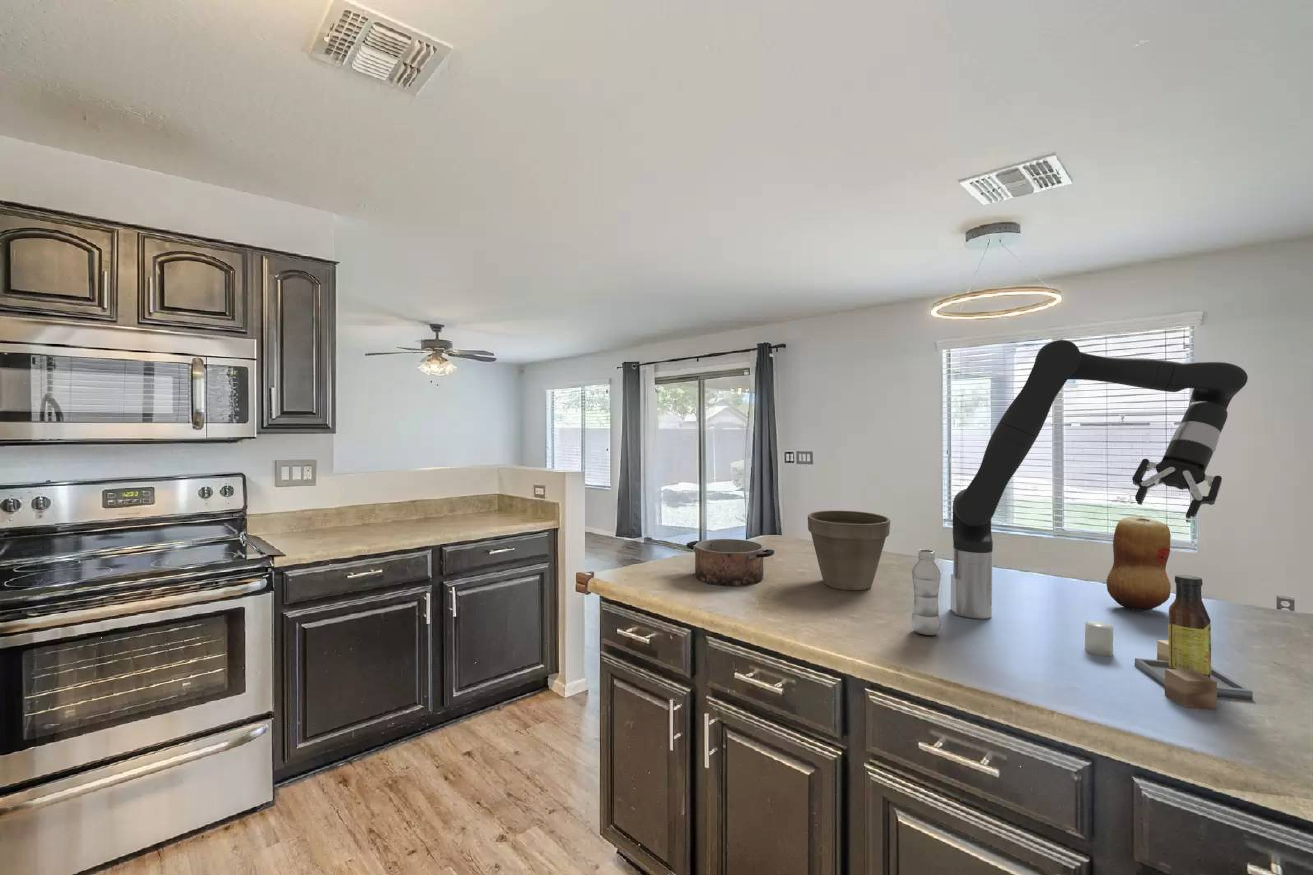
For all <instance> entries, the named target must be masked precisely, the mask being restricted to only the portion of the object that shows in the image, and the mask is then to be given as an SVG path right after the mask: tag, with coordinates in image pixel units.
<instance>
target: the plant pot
mask: <svg viewBox="0 0 1313 875" xmlns="http://www.w3.org/2000/svg"><path fill="white" fill-rule="evenodd" d="M807 530H808V532H809V533H811V539H812V543H813V547H814V550H815V555H816V558H817V559H816V560H817V562H818V567H819V572H820V574H821V577H822V580H823V583H824V585H826V586H828V587H830V588H833V589H837V590H843V591H864V590H868V589H870V588H871V587H872V586H873V584H874V580H875V577H876V573H877V570H878V567H879V564H880V563H879V562H880V561H881V558H882V557H881V556H882V552H883V549H884V546H885V542H886V539H887V537H889V535H890V530H891V519H890V518H889V517H887V516H885V515H881V514H876V513H872V512H865V511H855V510H818V511H813V512H810V513H809V514H808V515H807Z"/></svg>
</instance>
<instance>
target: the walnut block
mask: <svg viewBox="0 0 1313 875" xmlns="http://www.w3.org/2000/svg"><path fill="white" fill-rule="evenodd" d="M1164 696H1166V697H1167V698H1169V699H1170V700H1172V701H1174V702H1175V703H1177V704H1179V705H1181V706H1182V707H1183V708H1185V709H1199V710H1201V709H1202V710H1203V709H1204V710H1217V707H1218V706H1217V705H1218V703H1217V700H1218V696H1217V682H1216V681H1214V680H1213V679H1211V678H1209V677H1207V676H1205V675H1203V674H1201V673H1199V672H1197V671H1195V670H1178V669H1165V687H1164Z"/></svg>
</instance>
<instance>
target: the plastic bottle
mask: <svg viewBox="0 0 1313 875" xmlns="http://www.w3.org/2000/svg"><path fill="white" fill-rule="evenodd" d="M917 552H918V554H917V558H918V561H917V562H916V563H915V565H914V566H913V568H912V570H911V576H912V584H913V594H914V595H913V597H914V598H913V608H912V610H913V612H912V615H911V621H910V622H911V628H912V629H913V631H914V632H915V633H917V634H920V635H924V636H925V635H926V636H934V635H935V636H936V635H938V633H939V632H940V629H941V618H940V615H939V612H940V611H939V591H940V590H939V589H940V584H941V578H942V577H941V575H942V574H941V570H940V569H939V566H937V564H936V563H935V560H936V555H935V551H934V550H930V549H918V551H917Z"/></svg>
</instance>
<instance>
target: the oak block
mask: <svg viewBox="0 0 1313 875" xmlns="http://www.w3.org/2000/svg"><path fill="white" fill-rule="evenodd" d="M1156 641H1157V642H1156V643H1157V644H1156V660H1163V661H1169V645H1168V639H1161V640H1160V639H1157V640H1156Z"/></svg>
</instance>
